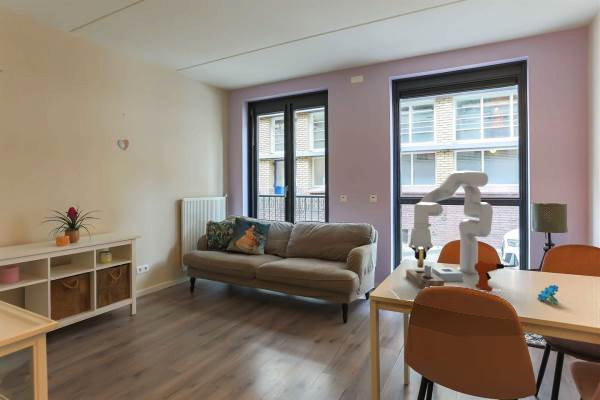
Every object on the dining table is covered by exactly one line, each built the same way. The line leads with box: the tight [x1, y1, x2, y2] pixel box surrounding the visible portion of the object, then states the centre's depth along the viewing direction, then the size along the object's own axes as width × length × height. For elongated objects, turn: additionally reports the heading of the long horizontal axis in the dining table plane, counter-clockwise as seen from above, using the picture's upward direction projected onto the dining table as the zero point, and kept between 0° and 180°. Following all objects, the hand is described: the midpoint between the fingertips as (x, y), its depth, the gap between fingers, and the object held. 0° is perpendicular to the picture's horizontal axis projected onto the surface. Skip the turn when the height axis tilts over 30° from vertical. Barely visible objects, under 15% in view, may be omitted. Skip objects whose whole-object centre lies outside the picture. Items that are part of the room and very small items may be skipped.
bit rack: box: [405, 268, 445, 290], centre depth 185 cm, size 12×22×5 cm, turn 1°
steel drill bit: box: [423, 264, 432, 279], centre depth 179 cm, size 3×3×10 cm
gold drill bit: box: [416, 248, 425, 269], centre depth 189 cm, size 3×3×10 cm
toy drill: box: [474, 260, 516, 292], centre depth 173 cm, size 5×19×15 cm, turn 64°
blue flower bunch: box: [537, 284, 559, 305], centre depth 157 cm, size 11×6×10 cm
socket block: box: [431, 266, 464, 282], centre depth 193 cm, size 12×12×5 cm
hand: (420, 258), depth 189 cm, fingers closed on gold drill bit, 3 cm apart
